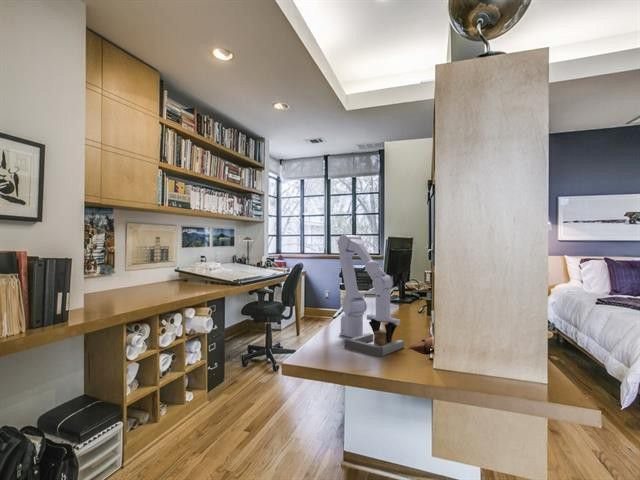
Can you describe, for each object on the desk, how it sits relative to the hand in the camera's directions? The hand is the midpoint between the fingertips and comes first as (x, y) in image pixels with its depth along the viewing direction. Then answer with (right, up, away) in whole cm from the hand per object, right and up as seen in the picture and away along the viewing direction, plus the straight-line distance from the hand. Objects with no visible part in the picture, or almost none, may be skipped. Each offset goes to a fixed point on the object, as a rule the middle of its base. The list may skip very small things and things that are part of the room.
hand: (382, 340), depth 125 cm
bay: (-4, -1, -4) cm, 5 cm away
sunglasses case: (+17, -2, -3) cm, 18 cm away
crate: (0, -1, 0) cm, 1 cm away
